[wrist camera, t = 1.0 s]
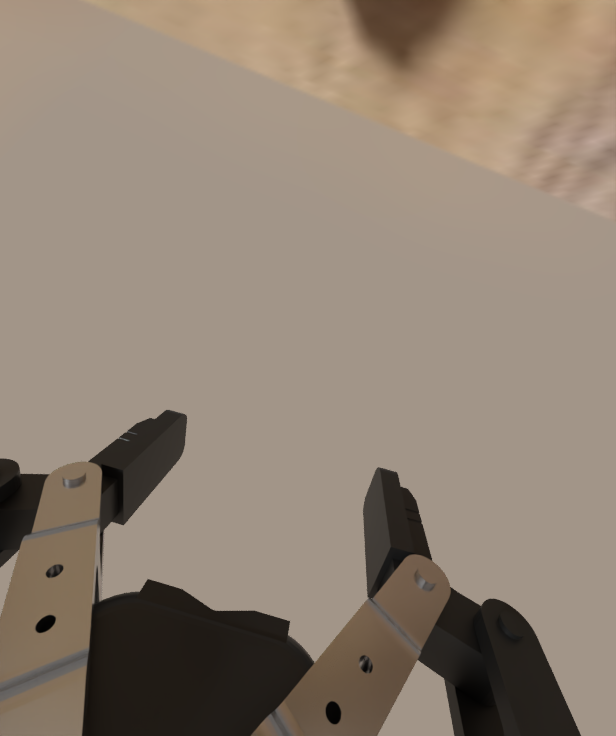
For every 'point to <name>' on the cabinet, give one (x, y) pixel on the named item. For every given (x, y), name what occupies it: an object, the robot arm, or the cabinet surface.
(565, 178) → the cabinet surface
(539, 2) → the cabinet surface
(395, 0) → the cabinet surface
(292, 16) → the cabinet surface
